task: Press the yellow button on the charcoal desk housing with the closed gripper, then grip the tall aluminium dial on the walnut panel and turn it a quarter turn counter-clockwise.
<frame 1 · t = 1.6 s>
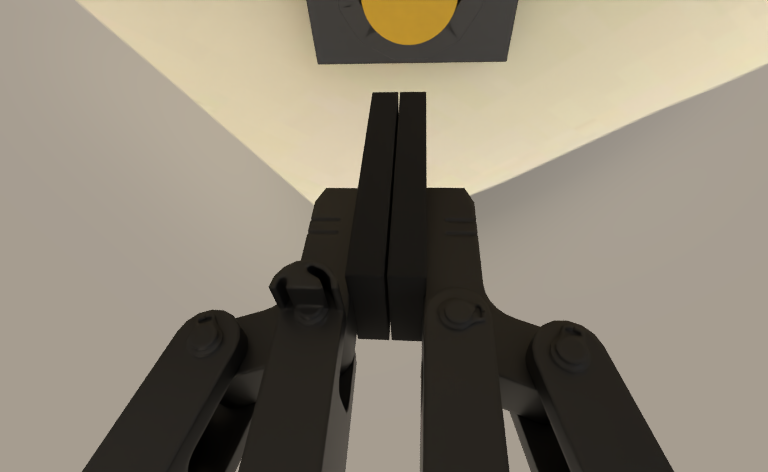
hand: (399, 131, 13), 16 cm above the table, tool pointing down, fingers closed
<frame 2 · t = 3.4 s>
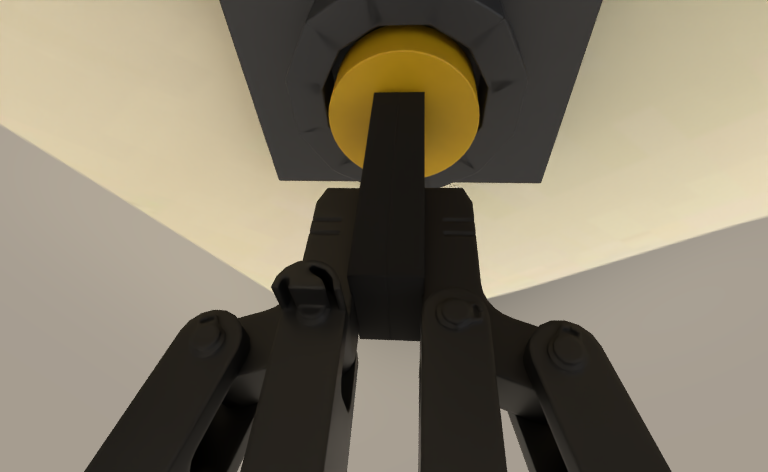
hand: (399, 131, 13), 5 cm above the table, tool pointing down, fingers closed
button: (404, 109, 13), point 4 cm above the table, slide at -0.3 cm, touching gripper
button housing: (407, 51, 16), on the table
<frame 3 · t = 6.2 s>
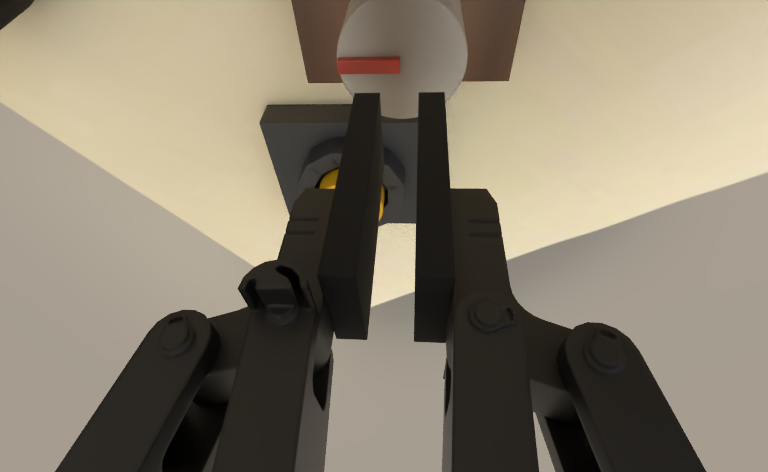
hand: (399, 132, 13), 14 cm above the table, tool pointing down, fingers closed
dial: (404, 23, 18), point 6 cm above the table, hinge at 0.0°
button: (350, 200, 29), point 4 cm above the table, slide at 0.1 cm
button housing: (357, 160, 32), on the table
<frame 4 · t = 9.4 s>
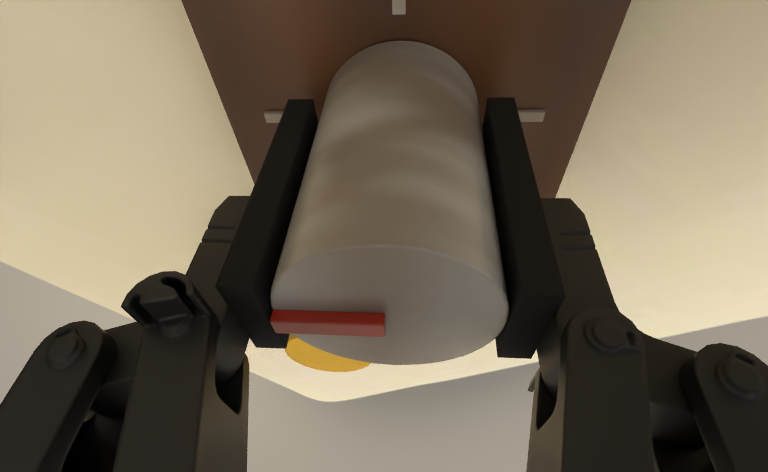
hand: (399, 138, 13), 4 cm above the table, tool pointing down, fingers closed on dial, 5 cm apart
dial: (395, 199, 11), point 6 cm above the table, hinge at 0.0°, touching gripper
dial panel: (403, 76, 15), on the table
button: (331, 340, 22), point 4 cm above the table, slide at 0.1 cm
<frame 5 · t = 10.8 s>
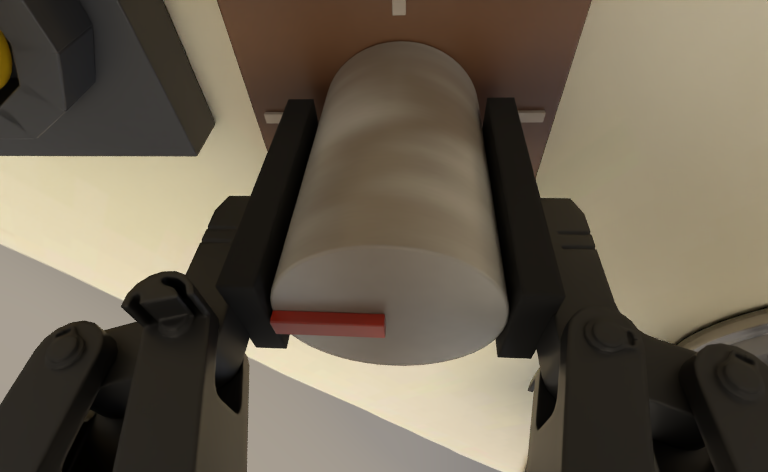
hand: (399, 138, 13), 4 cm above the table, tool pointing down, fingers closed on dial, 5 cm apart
dial: (395, 199, 11), point 6 cm above the table, hinge at 89.9°, touching gripper
dial panel: (403, 77, 15), on the table
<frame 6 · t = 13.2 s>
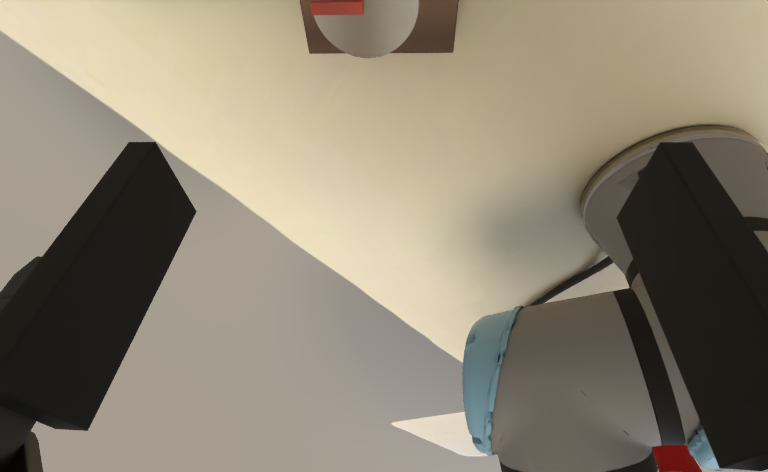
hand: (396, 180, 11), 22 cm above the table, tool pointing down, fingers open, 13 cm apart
plastic cup: (659, 423, 97), on the table
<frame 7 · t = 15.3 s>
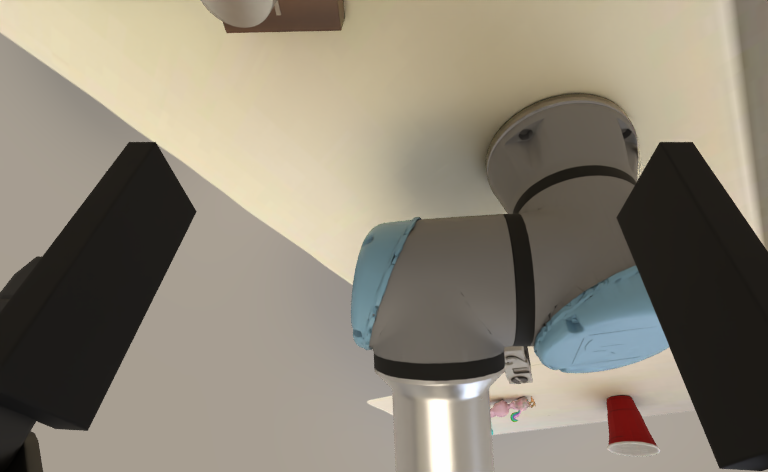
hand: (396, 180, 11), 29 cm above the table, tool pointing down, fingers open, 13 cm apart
camera: (498, 317, 74), on the table
pink unicorn toy: (504, 399, 107), on the table
plastic cup: (617, 398, 102), on the table
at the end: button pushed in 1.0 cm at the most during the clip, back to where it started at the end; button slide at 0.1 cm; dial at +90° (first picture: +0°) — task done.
